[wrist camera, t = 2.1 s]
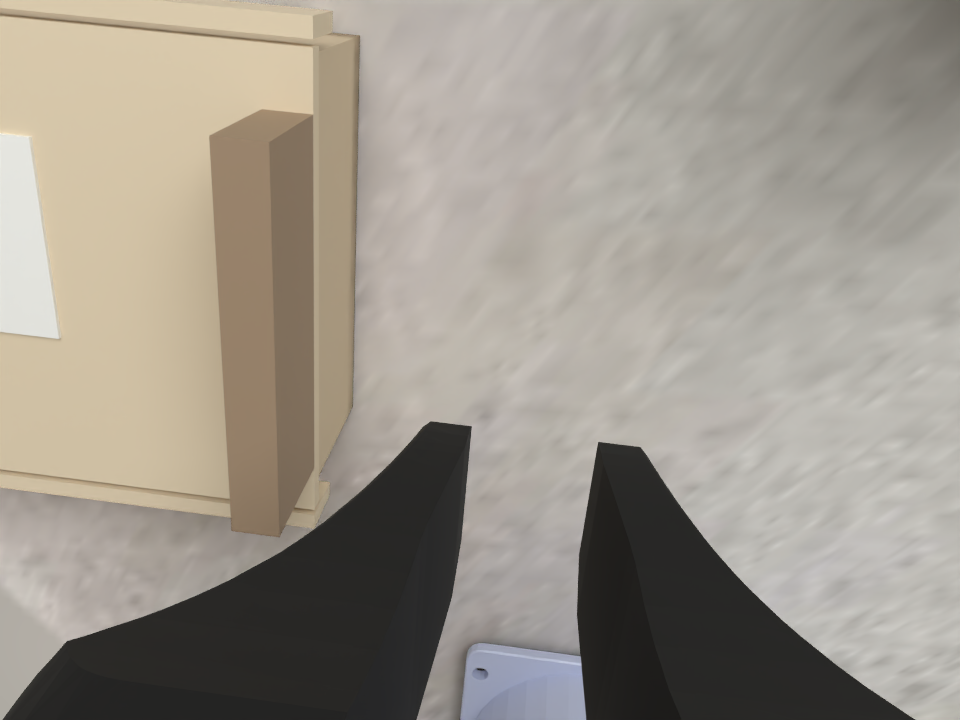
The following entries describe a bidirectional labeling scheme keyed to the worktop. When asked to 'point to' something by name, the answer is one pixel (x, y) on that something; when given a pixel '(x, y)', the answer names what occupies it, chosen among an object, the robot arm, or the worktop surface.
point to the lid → (162, 258)
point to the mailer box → (333, 208)
